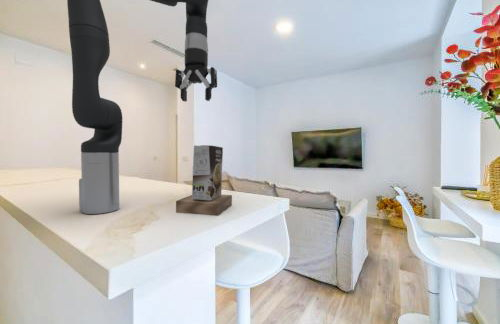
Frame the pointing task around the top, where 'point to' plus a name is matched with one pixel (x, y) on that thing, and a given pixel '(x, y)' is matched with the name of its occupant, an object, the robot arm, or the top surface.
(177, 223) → the top surface
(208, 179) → the coffee box
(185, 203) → the walnut block
